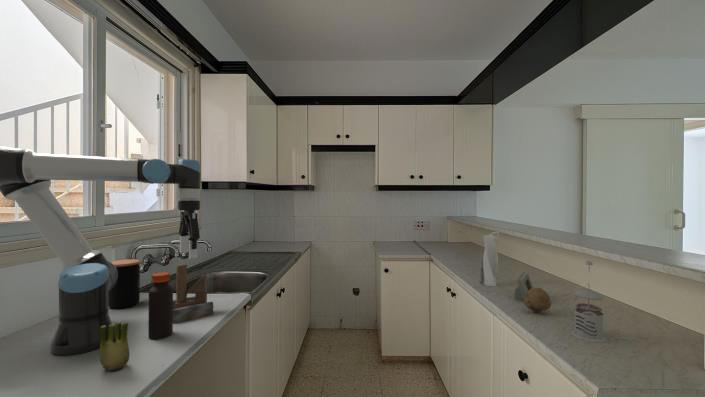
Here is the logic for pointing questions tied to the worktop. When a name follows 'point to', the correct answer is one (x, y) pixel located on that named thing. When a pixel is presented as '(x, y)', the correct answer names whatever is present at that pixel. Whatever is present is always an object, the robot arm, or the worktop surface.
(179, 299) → the brown upright wooden piece
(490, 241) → the skyscraper
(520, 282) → the digital clock
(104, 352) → the fennel bulb
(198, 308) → the metal-railed wooden board
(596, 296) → the french press
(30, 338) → the worktop surface
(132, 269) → the coffee jar
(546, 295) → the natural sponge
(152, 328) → the bottle
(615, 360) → the worktop surface
